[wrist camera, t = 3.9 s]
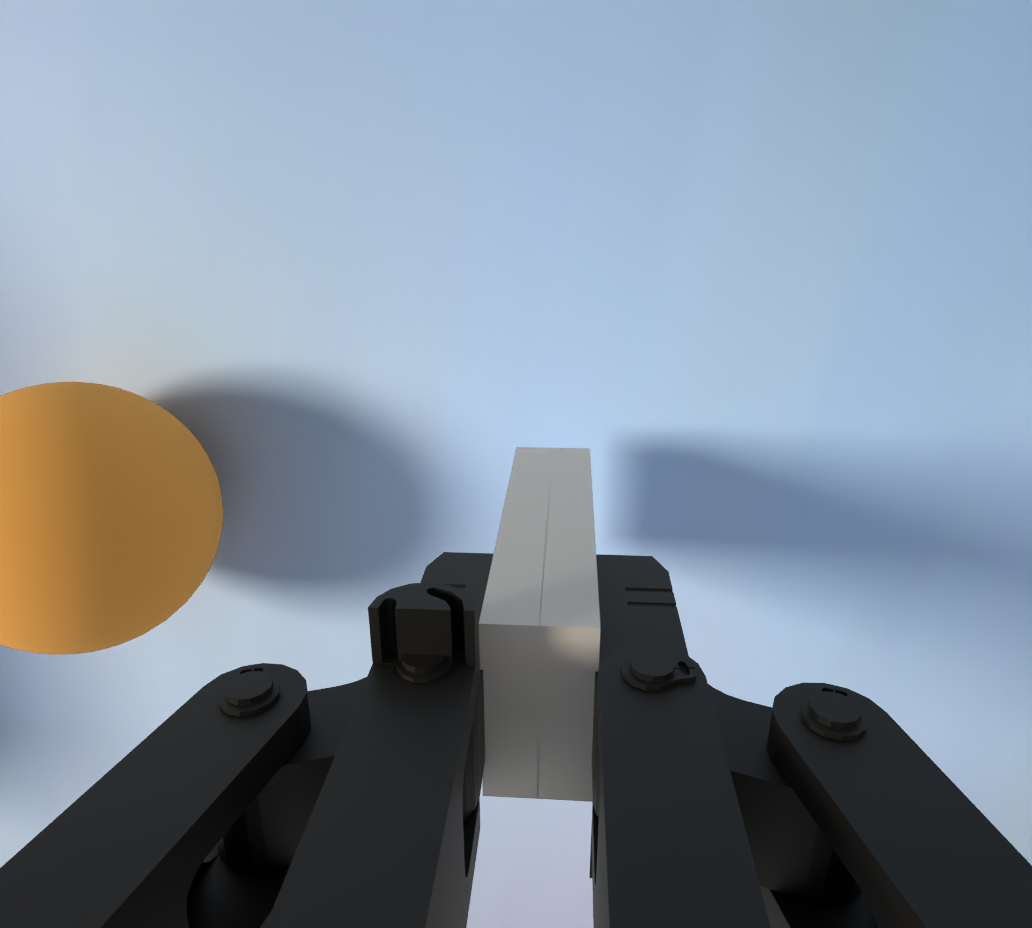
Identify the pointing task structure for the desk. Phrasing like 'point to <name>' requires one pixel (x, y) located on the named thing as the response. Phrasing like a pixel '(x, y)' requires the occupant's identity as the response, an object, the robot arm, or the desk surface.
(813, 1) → the desk surface
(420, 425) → the desk surface
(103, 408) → the ball
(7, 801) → the desk surface
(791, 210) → the desk surface
